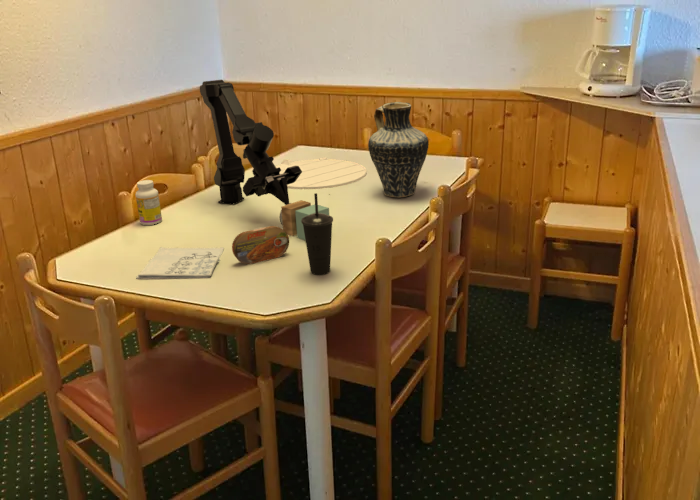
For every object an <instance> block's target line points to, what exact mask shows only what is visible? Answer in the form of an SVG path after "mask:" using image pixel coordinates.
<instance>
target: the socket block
mask: <svg viewBox="0 0 700 500" xmlns="http://www.w3.org/2000/svg"><path fill="white" fill-rule="evenodd" d="M295 212H296V226H297V235H296V238H297V239H300V240H303V241H305V242H306V240H305V234H304V228H303V224H302V222H301V220H302V218H304V217H305V216H308V215H310V214H314V213H315V203H314V204H312V205H311V206H308V207H305V208H302V209H299V210H296V211H295ZM318 213H323V214H326V215H329V216H330V208H329V207H327V206H324V205H320V204H318Z"/></svg>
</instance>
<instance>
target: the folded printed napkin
mask: <svg viewBox="0 0 700 500" xmlns="http://www.w3.org/2000/svg"><path fill="white" fill-rule="evenodd" d="M224 250H225V248H224V247H162V246H161V247H159V248H158V250H157V252H156V253H155V254H154V255H153V257H151V258H150V259H149V260H148V262H147V263H146V264H145V266H144V267H143V269H142V270H141V271H140V272H139V273H138V274H137V275H136V277H135V279H136V280H142V279H143V280H145V279H146V280H148V279H151V280H153V279H155V280H156V279H203V278H204V279H205V278H207V279H208V278H210V277H211V276H212V275H213V272H214V270H215V267H216V265H217V264H218V263H219V262H220V261H221V259H220V258H221V256H222V254H223V253H224Z"/></svg>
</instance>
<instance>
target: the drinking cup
mask: <svg viewBox="0 0 700 500" xmlns="http://www.w3.org/2000/svg"><path fill="white" fill-rule="evenodd" d="M313 196H314V204H315V213H314V214H310V215H308V216H305V217H304V218H302V220H301V222H302V224H303V228H304V234H305V240H306V241H305V240H304V241H305V245H306V251H307V257H308V264H309V270H310V273H311V275H315V276H323V275H327V274H329V273H330V272H331V257H332V256H331V255H332V236H333V235H332V232H333V222H334V217H333V216H332V215H330V214H329V215H326V214H323V213H318V205H319V204H318V203H319V199H318V193H314V195H313Z"/></svg>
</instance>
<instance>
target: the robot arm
mask: <svg viewBox="0 0 700 500" xmlns="http://www.w3.org/2000/svg"><path fill="white" fill-rule="evenodd" d="M232 83H233V82H232ZM232 83H231V82H230V81H229V82H225V81H224V80H223V79H216V80H215V79H214V80H205V81H204V80H203V81H202V83H201V85H200V86H199V94H200V95H201V97H202V100H203V101H202V102H203V103H204V104H205V105H206V106H207V107H208V109H209V110H210V113H211V119H212V123H213V128H214V132H215V133H214V134H215V138H216V142H217V149H218V153H219V156H218V159H217V161H216V171H215V173H214V175H213V181H214V184H215V185H216V186H218V187H219V194H220V195H219V196H220V200H218V201H217V202H218V204H224V205H225V204H227V205H236V204H239V203H240V202H242V201H243V200H245V197H249V196H253V195H255V196H257V197H261V196H263V195H272V196H274V197H275V198H276V199H278V200H279V201H280V202H282V203H283V204H284V206H285V205H286V204H288V203H290V197H289V196H290V195H289V188H287V185H288V184H292V183H294V182H295V181H296V180H297V178H298V177H299V176H300V174H301V173H302V171H301V169H300V167H299V166H292V167H288V168H287V169H286V170H285V172H284V173H283V174H280V171H281V169H280V168H276V167H275V166H276V165H275V164H274V160H275V158H274V157H273V156H269V154H268V153H267V151H268V150H269V148H270V146H271V143H272V141H273V138H274V136H275V135H274V134H275V133H274V131H273V129H271V127H269V126H267V125H264V124H263V122H262V121H260V122H255V120H254V119H252V118H251V117H249V116H248V115H247V114H246V112H245V110H244V108H243V106H242V105H241V102H240V100H239V98H238V97H237V95H236V92H235V88H234V85H233V84H232ZM228 119H229V120H230V122H231V125H232V131H231V129H230V124H229V120H228ZM231 132H232V134H231ZM232 137H233V139H232ZM233 140H234V142H235V144H236V145H238V146H245V147H244V149H243V150H242V151H243V153H242V157H241V156H238V155H237V153H236V152H235V150H234V145H233ZM242 158H243V159H242ZM244 159H247V160H248V162H249V164H250V165H251V167H252V168H253V169H252V171H251V172H252V174H253V176H252V177H248V178H247V180H246V182H245V173H246V169H245V167H244V165H243V161H242V160H244ZM241 183H245V184H243V186H242V187H241ZM243 194H244V195H245V197H243Z"/></svg>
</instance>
